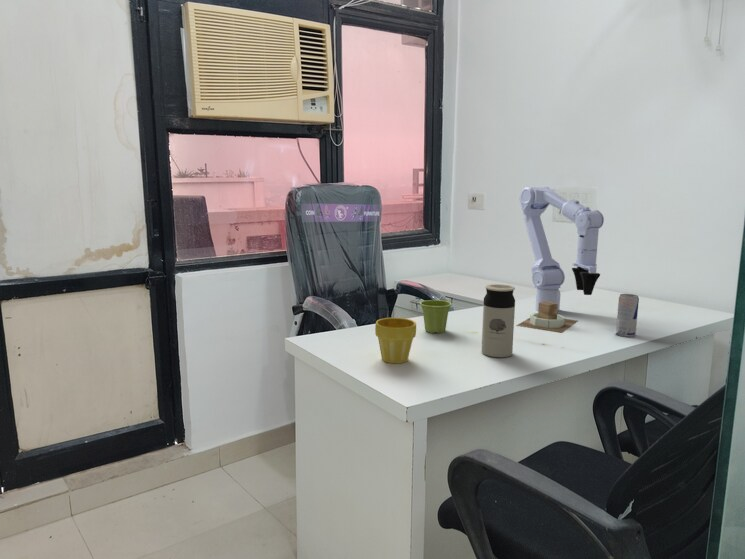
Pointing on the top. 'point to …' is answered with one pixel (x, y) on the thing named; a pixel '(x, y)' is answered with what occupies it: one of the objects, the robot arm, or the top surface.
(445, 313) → the plant pot
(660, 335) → the top surface
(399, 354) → the plant pot
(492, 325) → the travel mug
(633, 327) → the energy drink
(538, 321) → the octagonal green bowl
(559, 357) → the top surface
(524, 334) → the top surface
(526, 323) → the walnut board
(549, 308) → the brown wooden block
